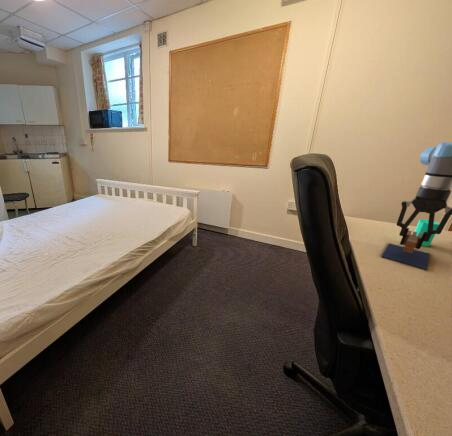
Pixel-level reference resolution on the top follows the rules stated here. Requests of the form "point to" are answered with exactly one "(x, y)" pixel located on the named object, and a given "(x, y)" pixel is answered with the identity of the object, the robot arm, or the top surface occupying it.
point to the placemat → (406, 256)
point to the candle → (425, 230)
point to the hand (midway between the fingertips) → (409, 245)
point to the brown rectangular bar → (411, 241)
